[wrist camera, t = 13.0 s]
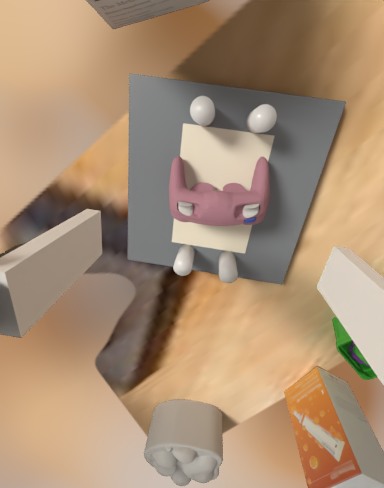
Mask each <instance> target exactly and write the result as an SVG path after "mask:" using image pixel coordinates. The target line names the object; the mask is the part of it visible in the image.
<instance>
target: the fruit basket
mask: <svg viewBox="0 0 384 488" xmlns="http://www.w3.org/2000/svg"><path fill="white" fill-rule="evenodd" d="M333 325H334V330H335V335H336V340H337V341H336V346H337V350H338V351H339V353H340V354H341V355H342V356H343V357H344V358H345V359H346V361H347V362H348V363H349V364H350V365H351V366H352V368H353V369H354V370H355V371H356V372H357V373H358V375H360V377H361V378H362V379H366V380H369V379H374V378H376V377H377V375H376V374H375V372H374V371H373V369H372V368H371V367H370V365H369V364H368V362H367V361H366V359H365V358H364V356H363V355H362V353H361V352H360V350H359V349H358V347H357V346H356V344H355V343H354V342H353V340H352V339H351V337H350V336H349V334H348V333H347V331H346V330H345V328H344V327H343V325H342V324H341V322H340V321H339V319H338V318H337V317H336V318H334V319H333Z"/></svg>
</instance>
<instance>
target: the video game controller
mask: <svg viewBox="0 0 384 488" xmlns="http://www.w3.org/2000/svg"><path fill="white" fill-rule="evenodd" d="M269 198H270V179H269V164H268V161H267V159H266V158H265V157H260V158H259V159H258V161H257V164H256V167H255V170H254V174H253V179H252V184H251V189H250V190H249V191H247V190H246V189H245V188H244V187H243V186H242V185H241V184H238V183H229V184H226V185H225V186H224V187H223V191H214V187H213V186H212V185H211V184H209V183H205V182H200V183H197V184H195V185H194V186H193V187H192V188H191V189H190V190H188V188H187V186H186V182H185V170H184V164H183V160H182V158H181V157H180V156H176V157H175V158H174V160H173V162H172V166H171V174H170V182H169V206H170V211H171V215H172V216H173V217H174V218H175V219H176V220H178V221H181V222H192V223H197V224H202V225H210V226H232V225H240V224H244V225H255V224H258V223H260V222H261V221H262V220H263V219H264V217H265V214H266V211H267V209H268V204H269Z"/></svg>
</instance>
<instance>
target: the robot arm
mask: <svg viewBox="0 0 384 488" xmlns="http://www.w3.org/2000/svg"><path fill="white" fill-rule="evenodd" d="M101 255H102V237H101V213H100V211H97V210H91V209H86V210H84V211H83V212H81V213H79V214H77V215H76V216H74V217H72V218H70V219H68V220H67V221H65V222H63V223H61V224H59V225H58V226H56V227H54V228H52V229H51V230H49V231H47V232H45V233H43V234H42V235H40V236H38V237H36V238H34V239H33V240H31V241H29V242H27V243H24V244H20V245H17V246H14V247H13V248H11V249H9V250H7V251H5V253H2V254H0V334H2V335H7V336H13V337H20V338H21V337H22V336H23V335H24V334H25V333H26V332H27V331H28V330H29V329H30V328H31V327H32V326H33V325H34V324H35V323H36V322H37V321H38V320H39V319H40V318H41V317H42V316H43V315H44V314H45V313H46V312H47V311H48V310H49V308H50V307H51V306H52V305H53V304H54V303H55V302H56V301H57V300H58V299H59V298H60V297H61V296H62V295H63V294H64V293H65V292H66V291H67V290H68V289H69V288H70V287H71V286H72V285H73V283H75V281H77V279H78V278H79V277H80V276H81V275H82V274H83V273H84V272H85V271H86V270H87V269H88V268H89V267H90V266H91V265H92V264H93V263H94V262H95V261H96V260H97V259H98V258H99V257H100V256H101ZM317 289H318V290H319V291H320V293H321V294H322V296H323V297H324V299H325V300H326V302H327V303H328V305H329V306H330V308H331V309H332V311H333V312H334V314H335V315H336V317H337V318H338V319H339V321H340V322H341V324H342V325H343V327H344V328H345V330H346V331H347V333H348V334H349V336H350V337H351V339H352V340H353V342H354V343H355V344H356V346H357V347H358V349H359V350H360V352H361V353H362V355H363V356H364V358H365V359H366V361H367V362H368V364H369V365H370V367H371V368H372V369H373V371H374V372H375V374H376V375H377V377H378V378H379V380H380V381H381V383H382V384H383V386H384V277H382V276H381V275H380V274H379V273H378V272H376V271H375V270H374V269H373V268H372V267H370V266H369V265H368V264H367V263H366V262H364V261H363V260H362V259H361V258H360V257H358V256H357V255H356V254H355V253H353V252H352V251H351V250H350V249H349V248H345V247H338V246H334V247H333V250H332V252H331V254H330V257H329V259H328V261H327V264H326V266H325V268H324V271H323V273H322V275H321V278H320V280H319V283H318V285H317Z"/></svg>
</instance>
